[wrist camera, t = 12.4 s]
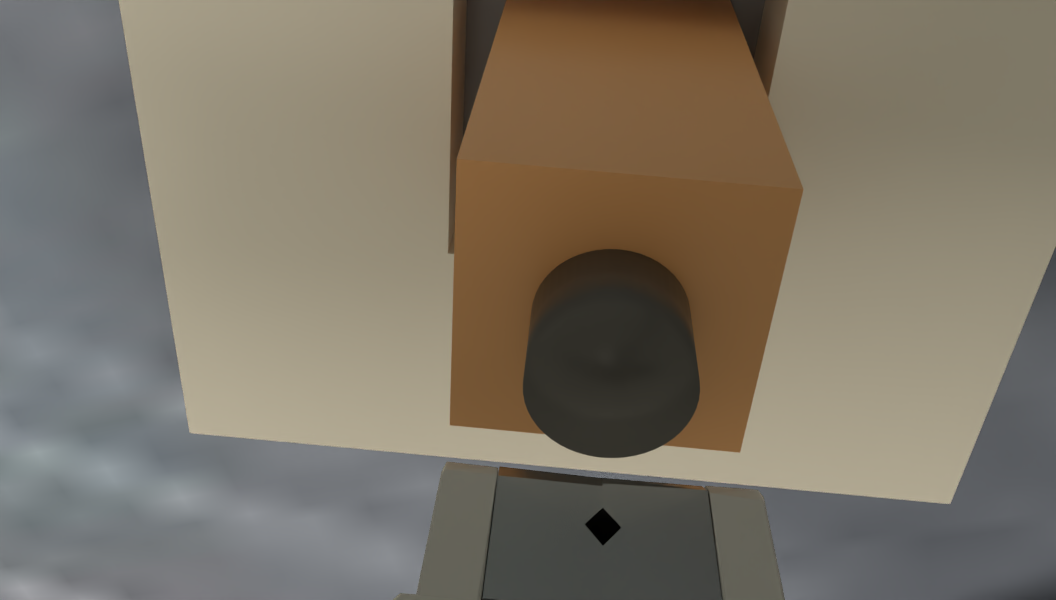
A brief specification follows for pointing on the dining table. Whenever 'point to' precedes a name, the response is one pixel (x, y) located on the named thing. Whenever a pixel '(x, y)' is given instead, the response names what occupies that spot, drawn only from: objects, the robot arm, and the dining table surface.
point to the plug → (618, 228)
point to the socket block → (429, 227)
